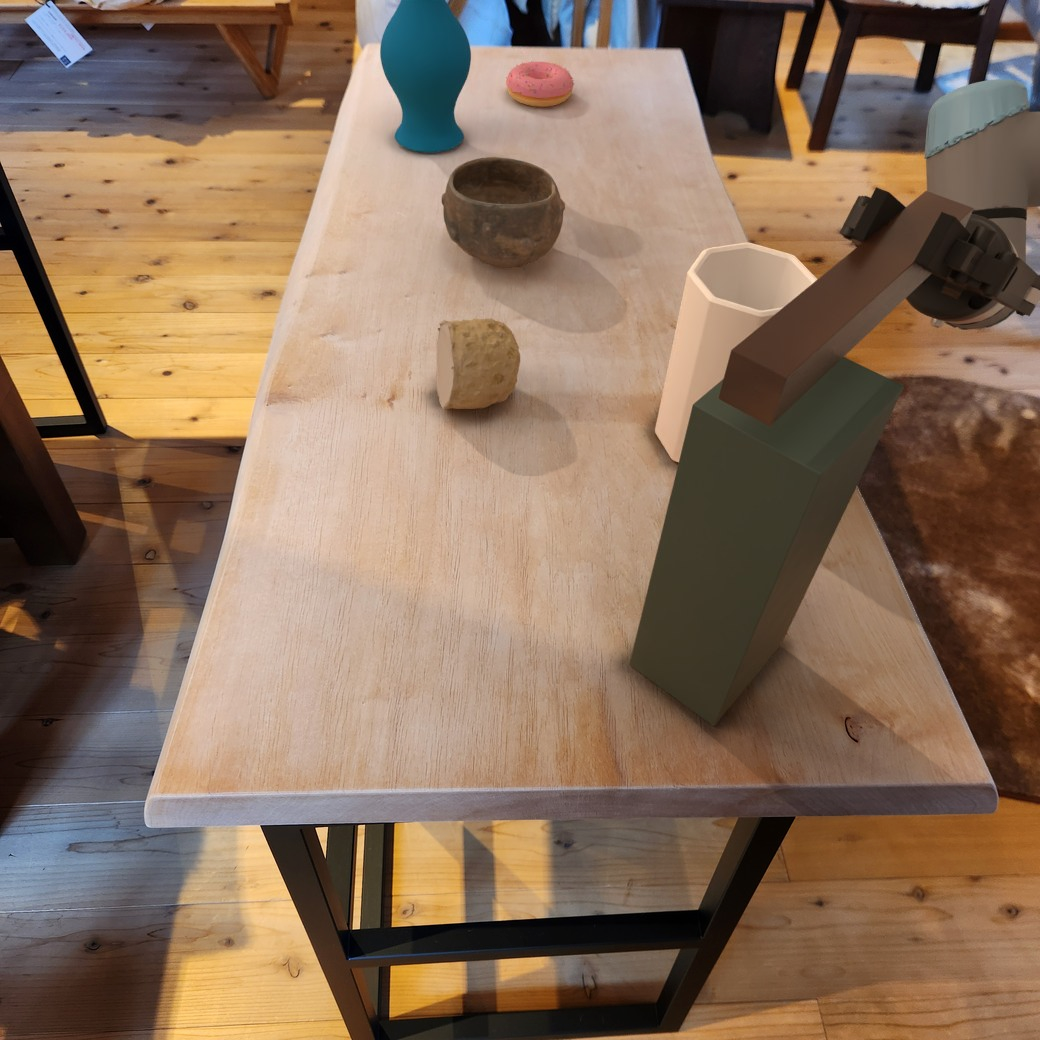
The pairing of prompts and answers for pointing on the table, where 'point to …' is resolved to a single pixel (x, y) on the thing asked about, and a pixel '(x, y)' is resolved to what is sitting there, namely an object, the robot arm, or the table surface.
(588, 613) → the table surface
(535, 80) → the doughnut
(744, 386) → the rod
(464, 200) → the bowl
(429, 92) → the vase
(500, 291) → the table surface
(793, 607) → the stand
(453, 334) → the cut tuber
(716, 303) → the cup
